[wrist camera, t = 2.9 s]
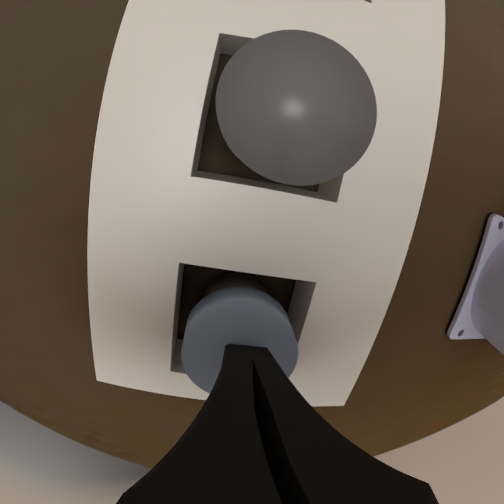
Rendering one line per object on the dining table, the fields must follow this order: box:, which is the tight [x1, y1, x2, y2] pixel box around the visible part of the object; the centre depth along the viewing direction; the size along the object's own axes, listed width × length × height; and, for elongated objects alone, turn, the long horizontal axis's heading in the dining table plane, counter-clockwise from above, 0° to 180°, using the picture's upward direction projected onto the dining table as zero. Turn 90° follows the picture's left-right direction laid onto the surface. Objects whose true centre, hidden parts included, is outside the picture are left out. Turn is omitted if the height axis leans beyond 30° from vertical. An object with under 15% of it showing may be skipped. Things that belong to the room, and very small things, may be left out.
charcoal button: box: [216, 30, 377, 186], centre depth 9 cm, size 4×4×4 cm
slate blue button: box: [181, 272, 298, 393], centre depth 12 cm, size 4×4×4 cm
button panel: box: [87, 0, 445, 406], centre depth 11 cm, size 12×24×2 cm, turn 169°
